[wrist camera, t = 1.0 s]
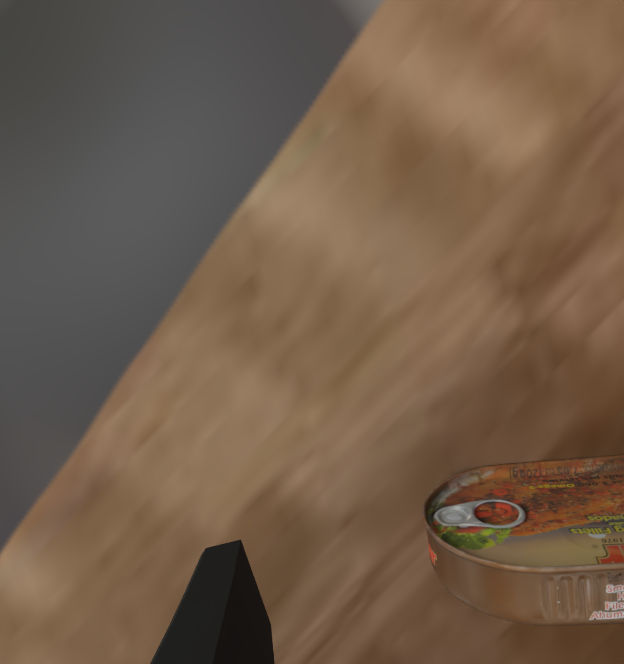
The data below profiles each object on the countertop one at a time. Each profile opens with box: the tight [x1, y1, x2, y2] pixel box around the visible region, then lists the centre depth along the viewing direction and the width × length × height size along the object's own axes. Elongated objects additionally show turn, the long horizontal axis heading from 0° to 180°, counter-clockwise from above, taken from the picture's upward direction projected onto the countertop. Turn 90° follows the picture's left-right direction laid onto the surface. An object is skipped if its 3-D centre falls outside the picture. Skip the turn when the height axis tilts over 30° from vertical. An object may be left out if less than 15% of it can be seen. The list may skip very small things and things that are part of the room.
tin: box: [422, 455, 624, 626], centre depth 23 cm, size 15×3×8 cm, turn 98°
